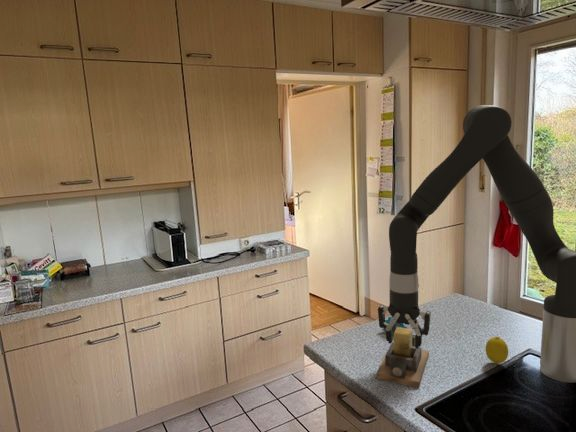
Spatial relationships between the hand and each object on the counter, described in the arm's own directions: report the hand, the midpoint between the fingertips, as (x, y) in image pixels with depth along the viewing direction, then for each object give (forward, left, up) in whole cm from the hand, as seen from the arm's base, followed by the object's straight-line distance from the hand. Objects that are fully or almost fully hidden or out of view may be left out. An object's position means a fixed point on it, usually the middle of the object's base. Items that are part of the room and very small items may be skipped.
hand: (403, 344), depth 111 cm
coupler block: (0, 0, -5) cm, 5 cm away
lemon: (-23, -11, -7) cm, 26 cm away
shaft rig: (0, 0, -7) cm, 7 cm away
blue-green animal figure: (+6, -23, -7) cm, 25 cm away
